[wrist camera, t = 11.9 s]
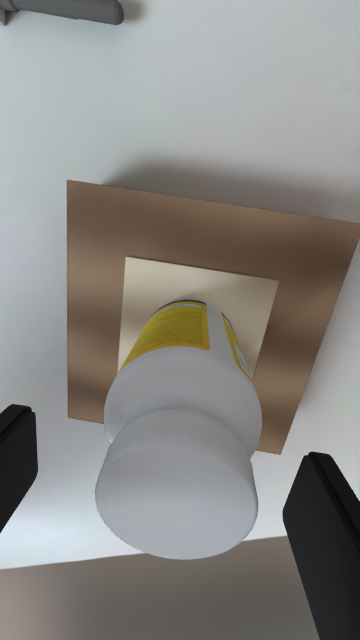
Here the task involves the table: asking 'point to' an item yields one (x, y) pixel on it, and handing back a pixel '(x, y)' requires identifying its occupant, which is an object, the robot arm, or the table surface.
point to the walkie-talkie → (69, 9)
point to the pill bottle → (181, 437)
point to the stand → (199, 287)
